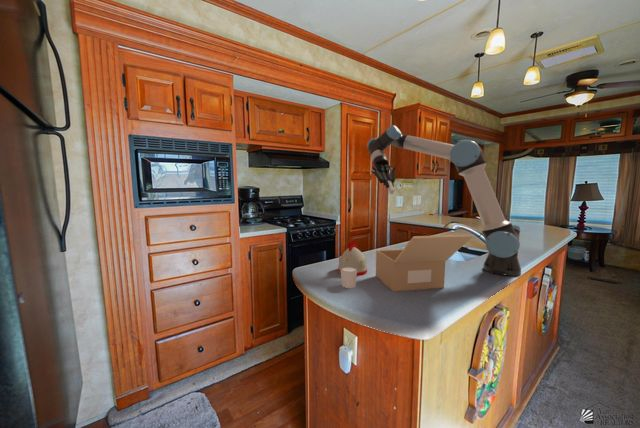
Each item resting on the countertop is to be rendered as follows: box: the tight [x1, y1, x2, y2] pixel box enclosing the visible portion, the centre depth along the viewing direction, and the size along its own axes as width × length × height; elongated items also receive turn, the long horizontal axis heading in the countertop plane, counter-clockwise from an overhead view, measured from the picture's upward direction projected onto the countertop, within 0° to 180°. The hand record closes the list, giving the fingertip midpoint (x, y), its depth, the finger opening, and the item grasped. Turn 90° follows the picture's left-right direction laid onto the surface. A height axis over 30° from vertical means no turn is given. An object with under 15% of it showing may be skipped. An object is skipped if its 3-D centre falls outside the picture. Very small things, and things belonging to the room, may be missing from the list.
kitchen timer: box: [337, 240, 368, 277], centre depth 127 cm, size 14×14×15 cm
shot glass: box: [340, 267, 358, 289], centre depth 109 cm, size 7×7×7 cm
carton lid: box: [394, 233, 474, 263], centre depth 96 cm, size 18×22×1 cm
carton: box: [375, 248, 446, 293], centre depth 113 cm, size 18×22×12 cm
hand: (392, 192), depth 128 cm, fingers closed
